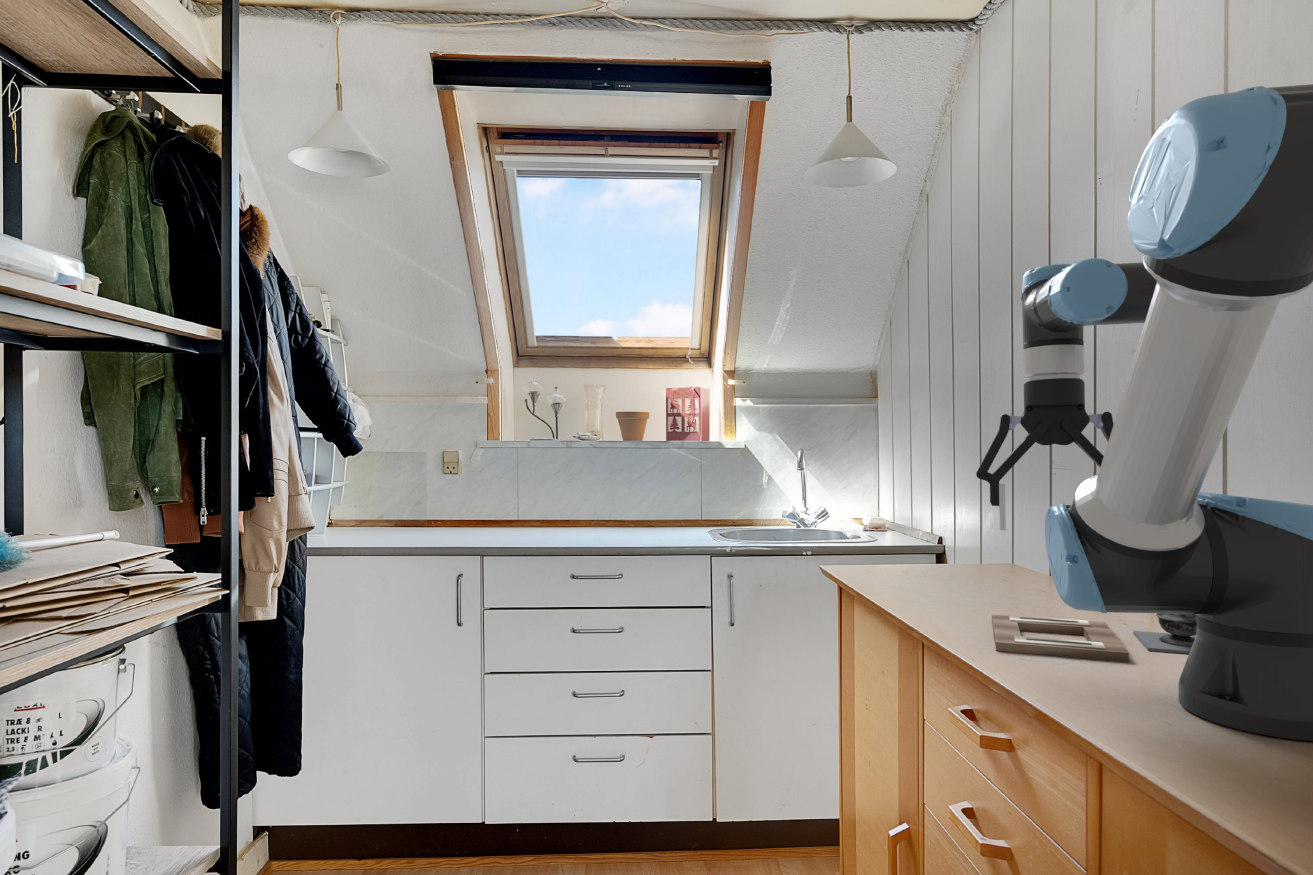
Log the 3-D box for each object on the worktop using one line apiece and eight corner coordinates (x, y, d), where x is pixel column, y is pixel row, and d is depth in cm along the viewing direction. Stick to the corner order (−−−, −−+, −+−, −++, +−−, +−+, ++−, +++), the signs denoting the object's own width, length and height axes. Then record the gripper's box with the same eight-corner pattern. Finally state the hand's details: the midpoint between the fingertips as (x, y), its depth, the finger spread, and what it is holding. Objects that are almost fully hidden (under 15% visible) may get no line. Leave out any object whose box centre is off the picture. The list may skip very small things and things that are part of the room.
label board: (1128, 661, 99) (1128, 650, 99) (996, 650, 105) (995, 639, 105) (1105, 629, 115) (1105, 620, 115) (991, 621, 121) (991, 612, 121)
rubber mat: (1235, 657, 100) (1235, 654, 100) (1148, 650, 104) (1148, 647, 104) (1212, 639, 109) (1212, 636, 109) (1133, 633, 113) (1133, 630, 113)
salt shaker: (1216, 647, 103) (1215, 560, 104) (1173, 647, 104) (1172, 561, 104) (1187, 636, 109) (1186, 554, 109) (1147, 636, 109) (1145, 554, 110)
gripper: (1152, 376, 103) (1155, 530, 103) (957, 384, 112) (959, 525, 112) (1165, 372, 96) (1168, 537, 96) (956, 380, 105) (959, 530, 105)
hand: (1056, 531), depth 104 cm, fingers open, 13 cm apart
